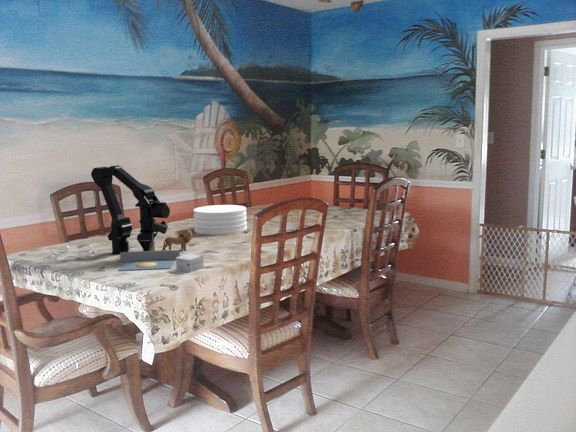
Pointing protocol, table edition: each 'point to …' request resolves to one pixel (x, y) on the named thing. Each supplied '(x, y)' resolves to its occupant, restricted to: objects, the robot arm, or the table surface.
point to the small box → (189, 262)
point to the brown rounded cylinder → (152, 246)
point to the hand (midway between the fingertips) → (149, 252)
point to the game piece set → (69, 249)
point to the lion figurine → (178, 240)
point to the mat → (146, 265)
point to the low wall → (149, 255)
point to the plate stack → (220, 219)
